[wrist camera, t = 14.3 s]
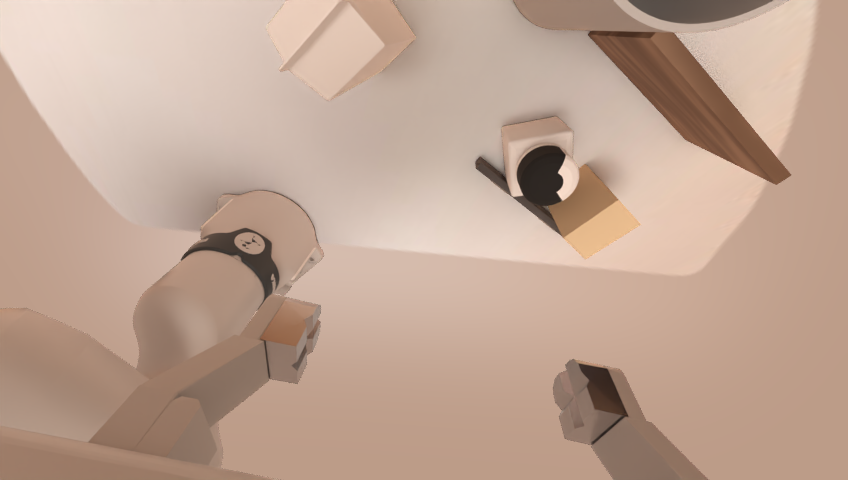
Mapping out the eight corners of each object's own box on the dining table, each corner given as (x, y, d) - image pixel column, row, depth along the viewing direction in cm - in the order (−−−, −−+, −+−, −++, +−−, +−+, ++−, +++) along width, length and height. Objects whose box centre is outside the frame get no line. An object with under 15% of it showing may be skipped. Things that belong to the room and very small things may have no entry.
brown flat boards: (565, 235, 50) (597, 297, 38) (474, 163, 45) (479, 210, 33) (695, 132, 40) (791, 175, 28) (597, 24, 35) (665, 22, 23)
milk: (416, 37, 37) (378, 49, 19) (379, 73, 40) (313, 113, 21) (382, -14, 35) (300, -58, 17) (344, 27, 37) (237, 28, 19)
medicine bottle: (504, 176, 46) (517, 217, 36) (500, 125, 42) (513, 156, 32) (557, 167, 44) (585, 208, 34) (557, 115, 40) (589, 143, 30)
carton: (604, 185, 45) (641, 225, 36) (562, 216, 48) (586, 260, 39) (585, 163, 43) (618, 199, 34) (542, 197, 47) (563, 238, 38)
